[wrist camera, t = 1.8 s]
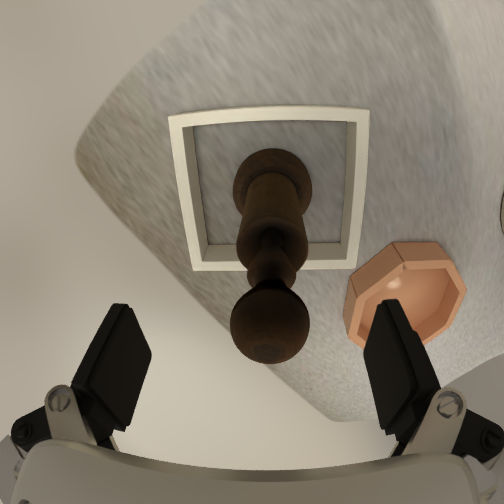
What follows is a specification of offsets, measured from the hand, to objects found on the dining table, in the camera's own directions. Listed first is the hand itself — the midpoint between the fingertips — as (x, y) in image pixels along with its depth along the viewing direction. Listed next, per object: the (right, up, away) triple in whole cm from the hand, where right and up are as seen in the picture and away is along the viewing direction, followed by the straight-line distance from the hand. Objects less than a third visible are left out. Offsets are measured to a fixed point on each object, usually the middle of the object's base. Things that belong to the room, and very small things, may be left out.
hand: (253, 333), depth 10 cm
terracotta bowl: (+17, -2, +20) cm, 26 cm away
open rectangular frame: (+2, +9, +14) cm, 17 cm away
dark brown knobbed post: (+2, +9, +15) cm, 17 cm away
